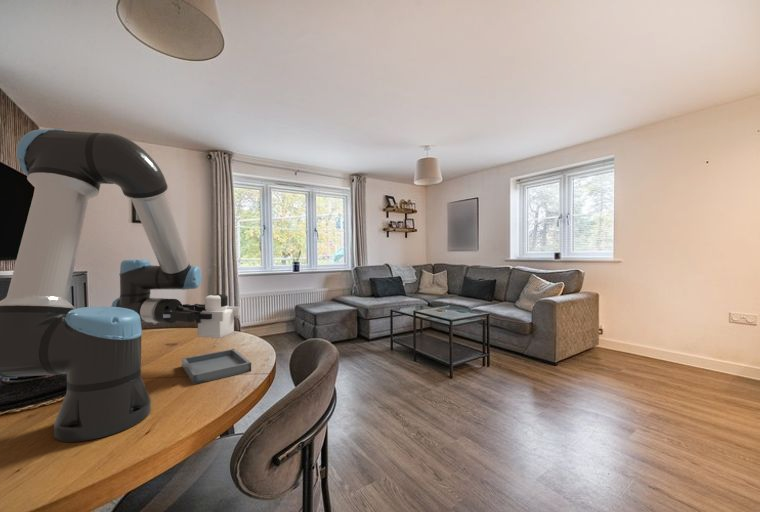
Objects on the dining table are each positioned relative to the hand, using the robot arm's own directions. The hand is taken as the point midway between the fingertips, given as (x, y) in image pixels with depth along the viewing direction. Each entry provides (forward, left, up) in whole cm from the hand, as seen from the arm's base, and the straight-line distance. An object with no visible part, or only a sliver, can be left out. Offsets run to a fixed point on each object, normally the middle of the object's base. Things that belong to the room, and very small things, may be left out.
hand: (231, 313), depth 94 cm
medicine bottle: (+4, +3, -7) cm, 8 cm away
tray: (+4, +3, -17) cm, 17 cm away
